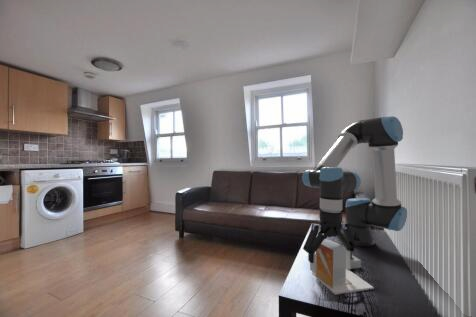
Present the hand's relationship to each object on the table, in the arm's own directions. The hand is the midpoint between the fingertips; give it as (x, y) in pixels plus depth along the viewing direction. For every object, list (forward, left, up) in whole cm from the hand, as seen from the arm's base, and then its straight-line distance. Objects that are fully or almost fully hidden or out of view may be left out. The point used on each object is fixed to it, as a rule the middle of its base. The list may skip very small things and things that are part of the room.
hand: (330, 269), depth 75 cm
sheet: (-4, 0, -4) cm, 6 cm away
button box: (-15, -10, -4) cm, 19 cm away
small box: (0, 0, -4) cm, 4 cm away
